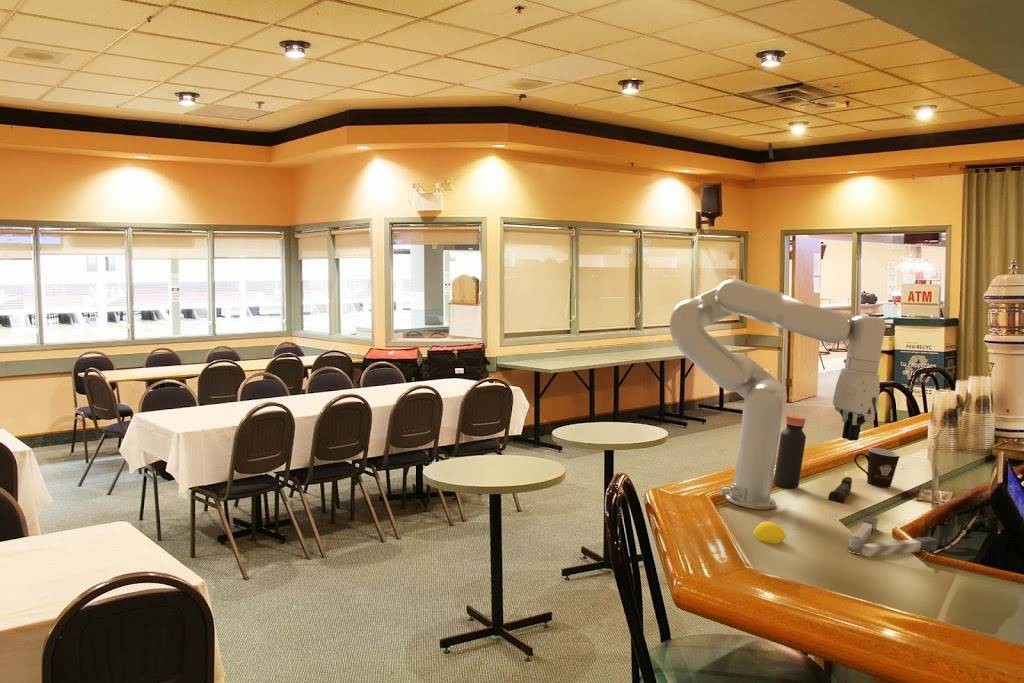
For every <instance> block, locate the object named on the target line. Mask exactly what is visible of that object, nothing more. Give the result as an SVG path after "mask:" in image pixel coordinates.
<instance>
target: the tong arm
mask: <svg viewBox="0 0 1024 683" xmlns="http://www.w3.org/2000/svg"><path fill="white" fill-rule="evenodd" d="M878 522H879V518H877V517H873V516H869V515H868V516H867V517H866V518H865V520H863V523H862V524H861V526H860V527H859V528H858V529H857V530H856V531H855V532H854V533H853V535H852V536H851V539H858V540H861V541H862V542H863V544H865V542H866V541H867V539H868V538H870V536H871V535H873V534H874V533H875V532H876V531H877V528H878Z"/></svg>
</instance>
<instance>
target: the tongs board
mask: <svg viewBox="0 0 1024 683" xmlns="http://www.w3.org/2000/svg"><path fill="white" fill-rule="evenodd" d="M937 545H938V540H937V539H936V538H934V537H931V536H922V537H914V538H912V539H905V540H904V539H903V540H894V541H885V542H884V541H883V542H873V543H863V542H862V541H861V540H858V539H852V538H849V540H848V546H847V551H848V550H849V551H851V552H855V553H860V555H862V554H863V555H862V556H864V555H865V556H864V557H866V556H868V557H867V558H870V557H881V556H890V555H897V554H898V555H900V554H906V553H908V554H909V553H916V552H918V553H919V552H921V551H922V550H925V551H924V552H931V551H936V550H937ZM922 552H923V551H922Z"/></svg>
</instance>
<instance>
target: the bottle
mask: <svg viewBox="0 0 1024 683" xmlns="http://www.w3.org/2000/svg"><path fill="white" fill-rule="evenodd" d="M805 422H806V418H805V417H803V416H800V415H795V414H788V415H786V420H785V425H786V428H785V429H783V430H782V431H780V434H779V441H778V448H777V455H776V461H775V468H774V475H773V484H774V485H775V486H777V487H781V488H784V489H789V490H790V489H792V490H794V489H798V488H799V487H800V486H799V485H800V479H801V473H802V465H803V459H804V453H805V446H806V439H807V436H806V434H805V432H803V428H804V427H805V424H806V423H805Z"/></svg>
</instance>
